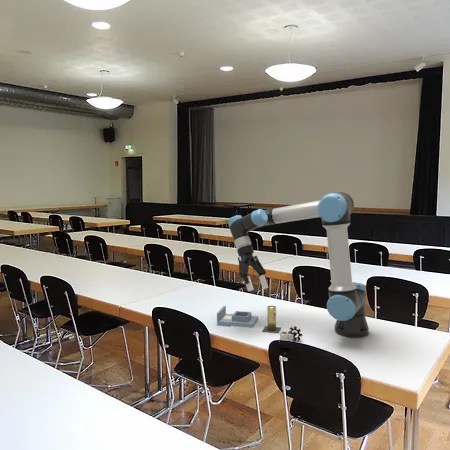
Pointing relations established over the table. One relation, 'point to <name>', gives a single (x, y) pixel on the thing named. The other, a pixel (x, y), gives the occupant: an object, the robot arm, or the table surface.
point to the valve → (288, 337)
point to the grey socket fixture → (236, 318)
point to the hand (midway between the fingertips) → (258, 289)
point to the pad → (271, 331)
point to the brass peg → (271, 318)
